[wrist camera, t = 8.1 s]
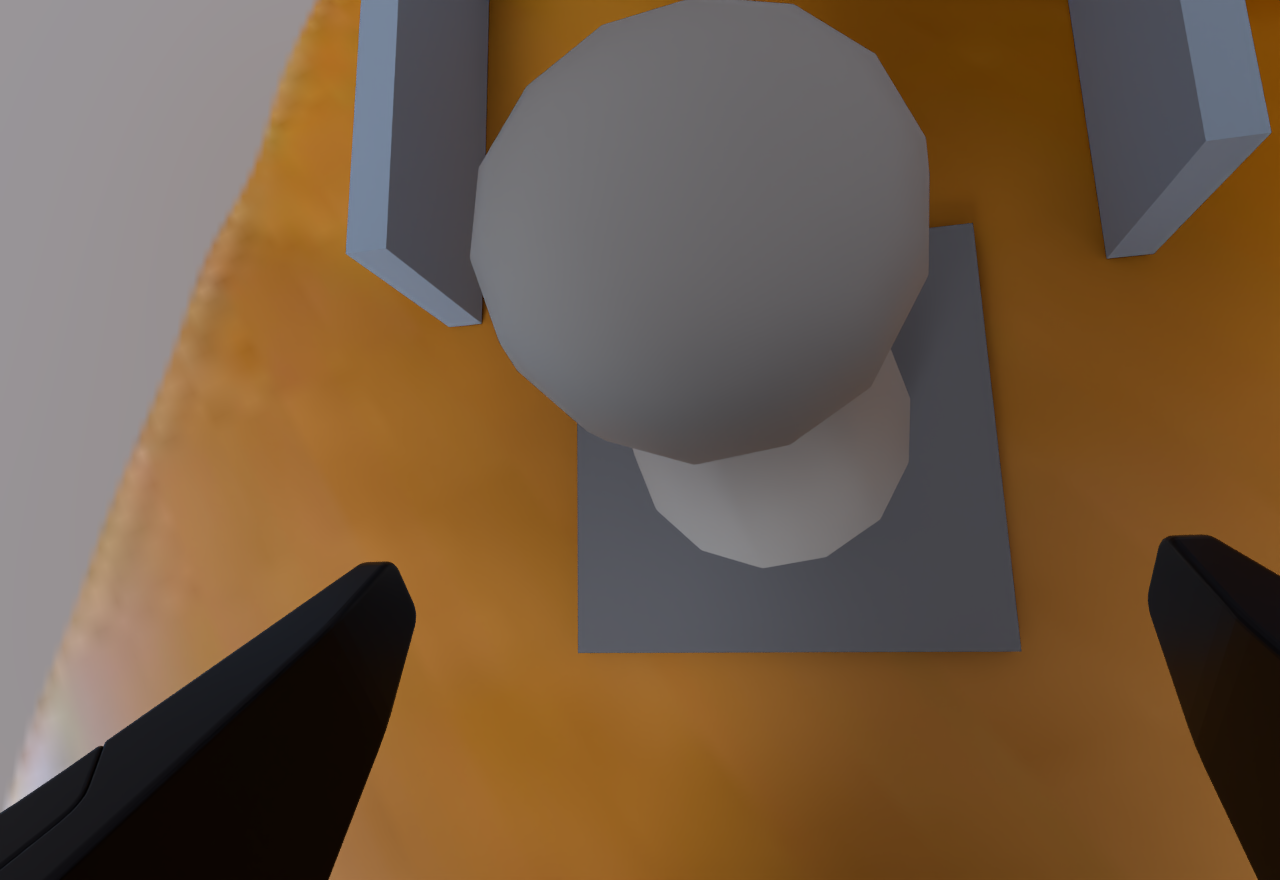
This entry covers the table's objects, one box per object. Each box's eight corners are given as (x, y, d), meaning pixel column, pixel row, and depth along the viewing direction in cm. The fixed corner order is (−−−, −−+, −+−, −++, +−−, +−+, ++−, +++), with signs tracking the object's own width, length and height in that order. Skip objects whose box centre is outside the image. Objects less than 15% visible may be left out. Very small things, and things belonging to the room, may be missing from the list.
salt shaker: (799, 289, 19) (756, -257, 7) (953, 471, 18) (1262, 183, 5) (612, 429, 20) (255, 151, 7) (746, 619, 18) (577, 676, 6)
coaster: (1015, 649, 17) (1021, 651, 17) (585, 651, 19) (578, 652, 19) (968, 234, 19) (973, 222, 19) (583, 278, 21) (576, 269, 21)
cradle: (1153, 253, 18) (1271, 132, 13) (449, 327, 22) (346, 254, 17) (1082, -183, 21) (1160, -417, 16) (461, -47, 25) (373, -201, 20)
